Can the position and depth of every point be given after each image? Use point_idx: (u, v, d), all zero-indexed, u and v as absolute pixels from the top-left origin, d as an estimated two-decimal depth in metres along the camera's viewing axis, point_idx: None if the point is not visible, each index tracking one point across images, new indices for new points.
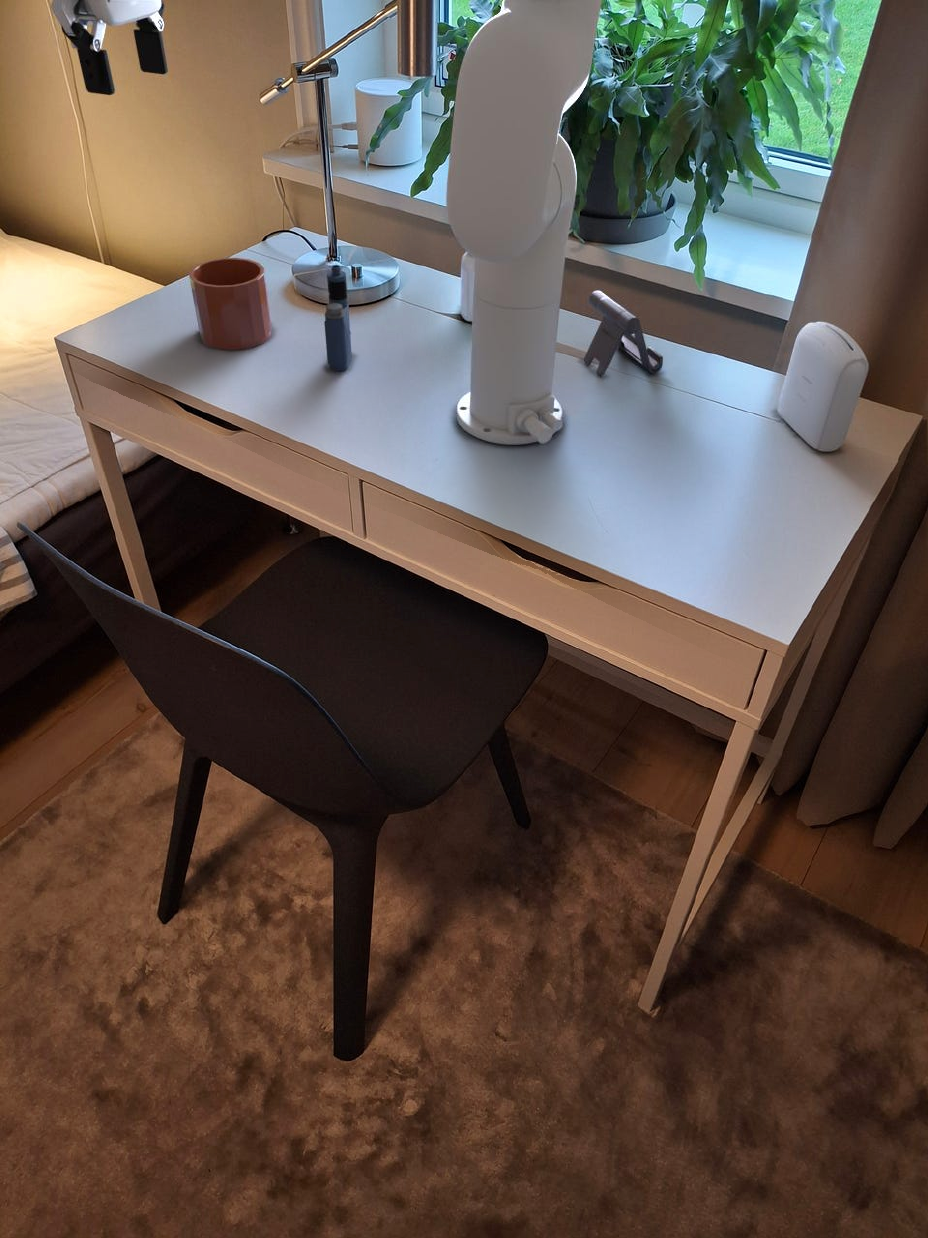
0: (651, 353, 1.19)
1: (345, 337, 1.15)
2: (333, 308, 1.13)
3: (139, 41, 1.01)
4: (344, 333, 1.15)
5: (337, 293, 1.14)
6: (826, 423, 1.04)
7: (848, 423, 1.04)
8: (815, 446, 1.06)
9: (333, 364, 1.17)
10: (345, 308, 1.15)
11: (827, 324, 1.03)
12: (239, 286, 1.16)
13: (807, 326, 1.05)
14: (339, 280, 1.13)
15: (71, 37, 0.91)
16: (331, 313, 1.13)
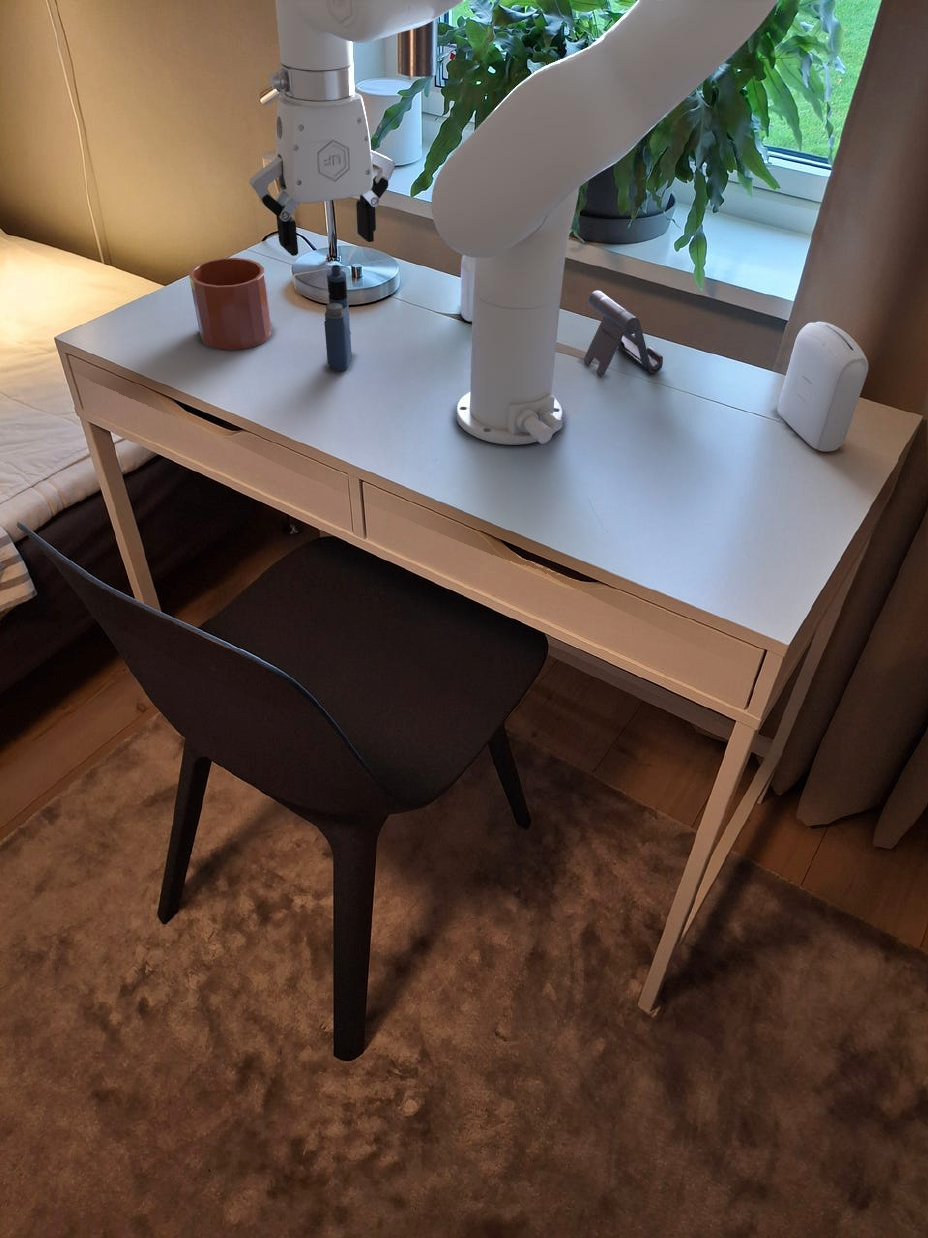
0: (651, 353, 1.19)
1: (345, 337, 1.15)
2: (333, 308, 1.13)
3: (358, 210, 1.10)
4: (344, 333, 1.15)
5: (337, 293, 1.14)
6: (826, 423, 1.04)
7: (848, 423, 1.04)
8: (815, 446, 1.06)
9: (333, 364, 1.17)
10: (345, 308, 1.15)
11: (827, 324, 1.03)
12: (239, 286, 1.16)
13: (807, 326, 1.05)
14: (339, 280, 1.13)
15: None
16: (331, 313, 1.13)
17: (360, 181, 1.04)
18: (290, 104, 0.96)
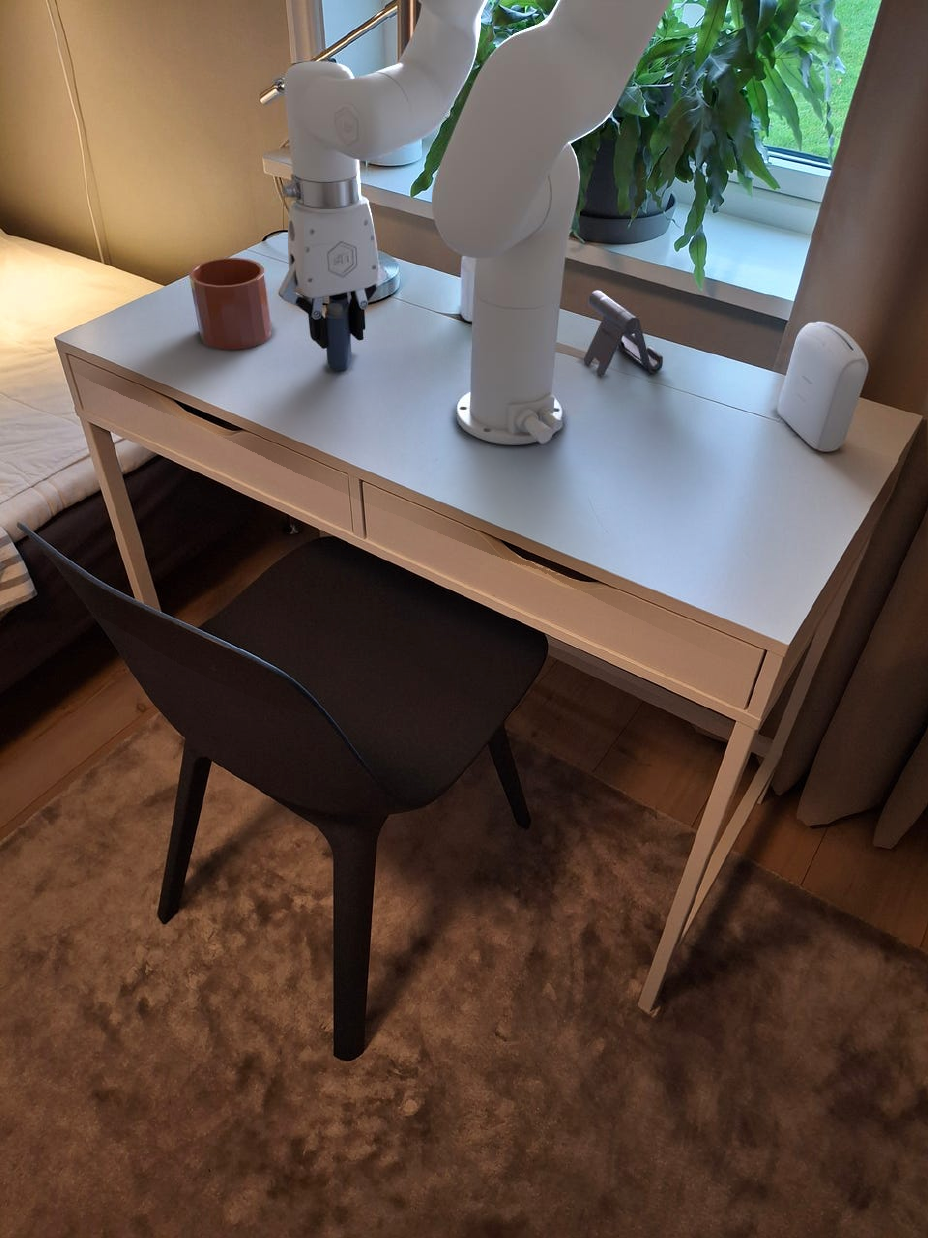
0: (651, 353, 1.19)
1: (345, 337, 1.15)
2: (333, 308, 1.13)
3: None
4: (344, 333, 1.15)
5: None
6: (826, 423, 1.04)
7: (848, 423, 1.04)
8: (815, 446, 1.06)
9: (333, 364, 1.17)
10: (345, 308, 1.15)
11: (827, 324, 1.03)
12: (239, 286, 1.16)
13: (807, 326, 1.05)
14: None
15: None
16: (331, 313, 1.13)
17: (367, 275, 1.11)
18: (301, 211, 1.04)
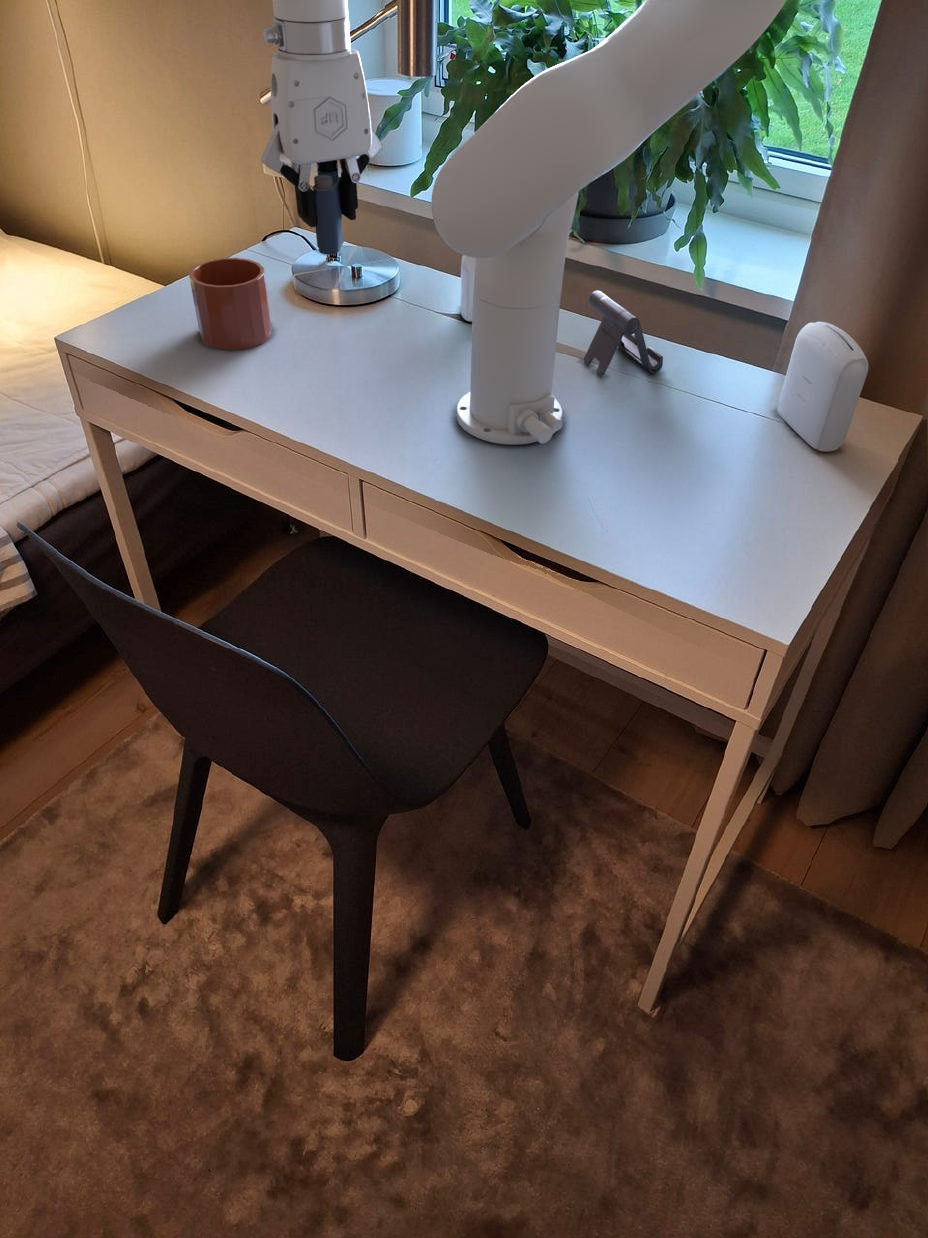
0: (651, 353, 1.19)
1: (336, 214, 1.05)
2: (322, 179, 1.03)
3: None
4: (334, 209, 1.05)
5: (326, 164, 1.04)
6: (826, 423, 1.04)
7: (848, 423, 1.04)
8: (815, 446, 1.06)
9: (323, 246, 1.07)
10: (335, 182, 1.05)
11: (827, 324, 1.03)
12: (239, 286, 1.16)
13: (807, 326, 1.05)
14: None
15: None
16: (320, 185, 1.03)
17: (358, 140, 1.01)
18: (284, 59, 0.94)
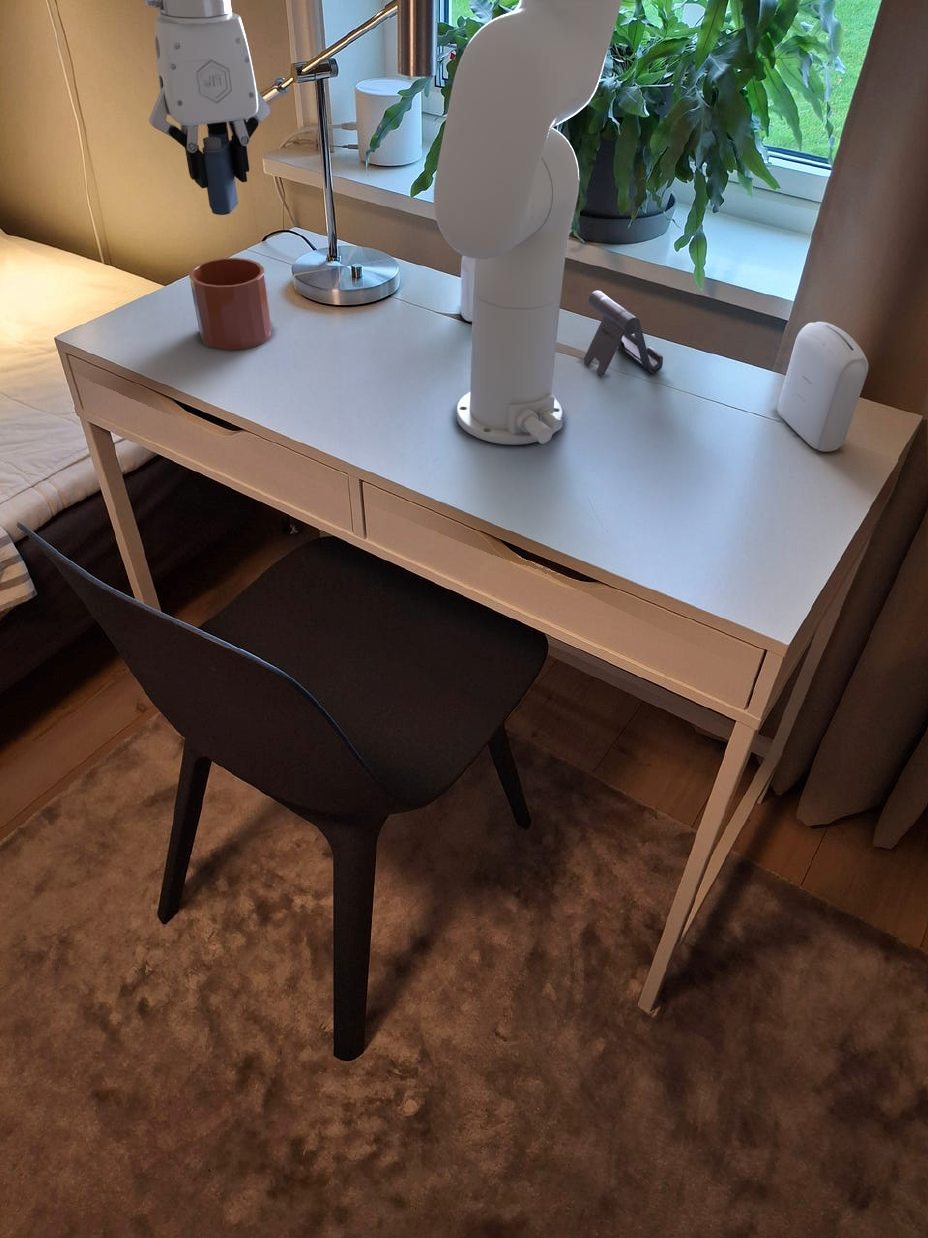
0: (651, 353, 1.19)
1: (226, 175, 1.09)
2: (210, 140, 1.06)
3: None
4: (224, 170, 1.09)
5: (215, 126, 1.07)
6: (826, 423, 1.04)
7: (848, 423, 1.04)
8: (815, 446, 1.06)
9: (214, 206, 1.11)
10: (225, 144, 1.09)
11: (827, 324, 1.03)
12: (239, 286, 1.16)
13: (807, 326, 1.05)
14: None
15: None
16: (208, 146, 1.07)
17: (244, 104, 1.05)
18: (165, 22, 0.97)
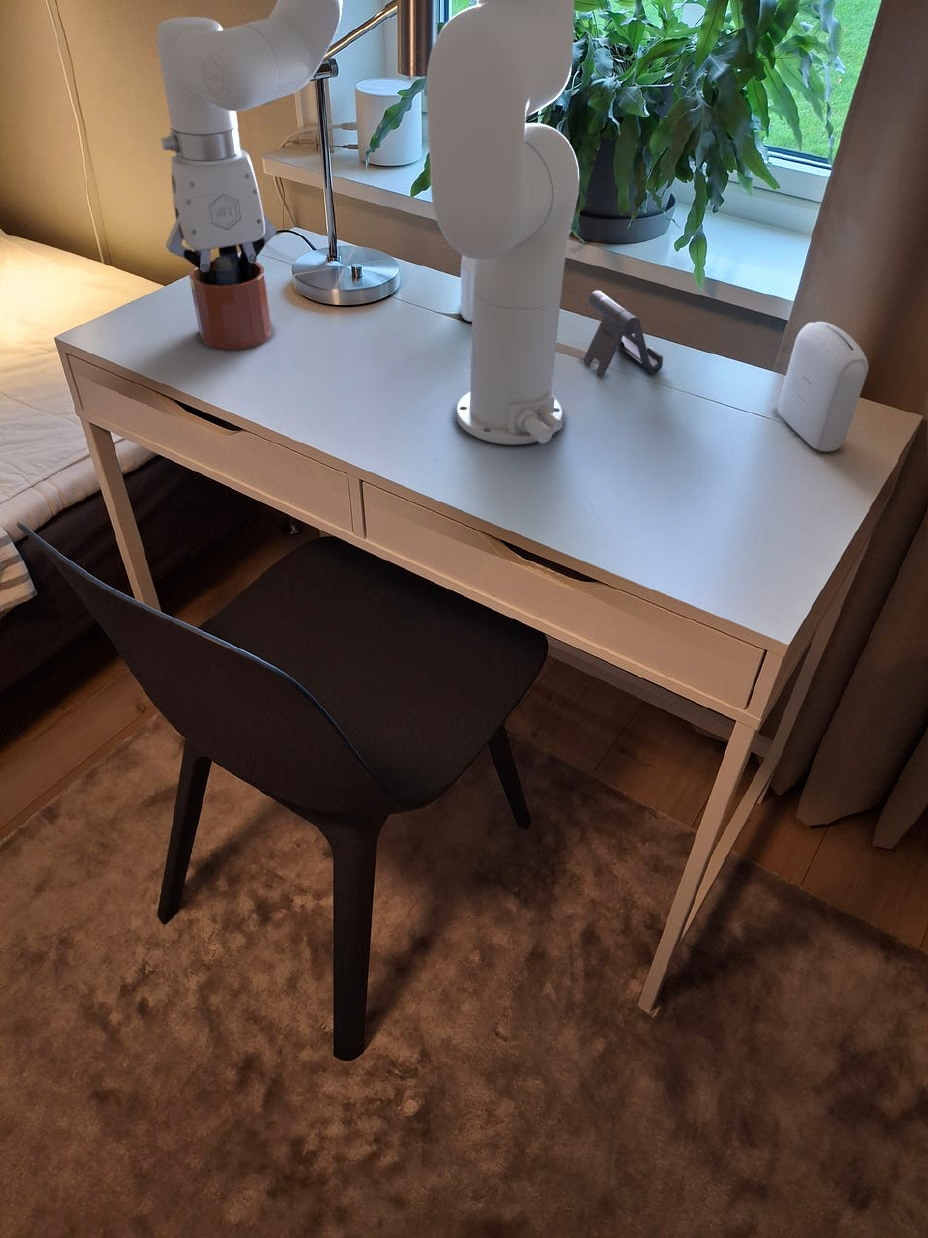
0: (651, 353, 1.19)
1: None
2: (221, 261, 1.16)
3: None
4: None
5: (226, 247, 1.17)
6: (826, 423, 1.04)
7: (848, 423, 1.04)
8: (815, 446, 1.06)
9: None
10: (235, 262, 1.19)
11: (827, 324, 1.03)
12: (239, 286, 1.16)
13: (807, 326, 1.05)
14: None
15: None
16: (219, 266, 1.17)
17: (252, 229, 1.15)
18: (181, 164, 1.07)
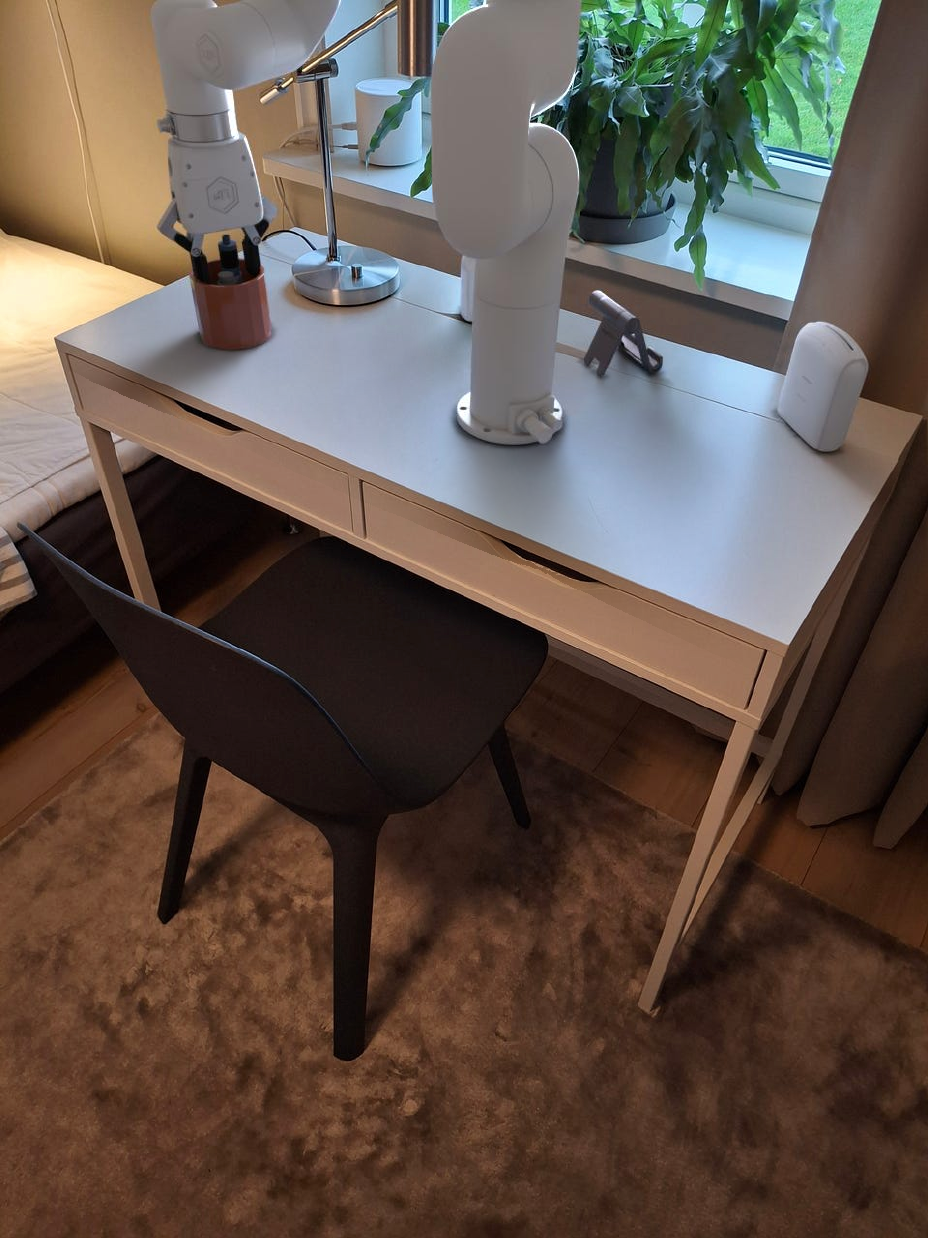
0: (651, 353, 1.19)
1: None
2: (224, 276, 1.18)
3: (243, 248, 1.19)
4: None
5: (228, 262, 1.18)
6: (826, 423, 1.04)
7: (848, 423, 1.04)
8: (815, 446, 1.06)
9: None
10: (237, 276, 1.20)
11: (827, 324, 1.03)
12: (239, 286, 1.16)
13: (807, 326, 1.05)
14: (229, 249, 1.17)
15: None
16: (223, 281, 1.18)
17: (250, 213, 1.13)
18: (177, 146, 1.06)
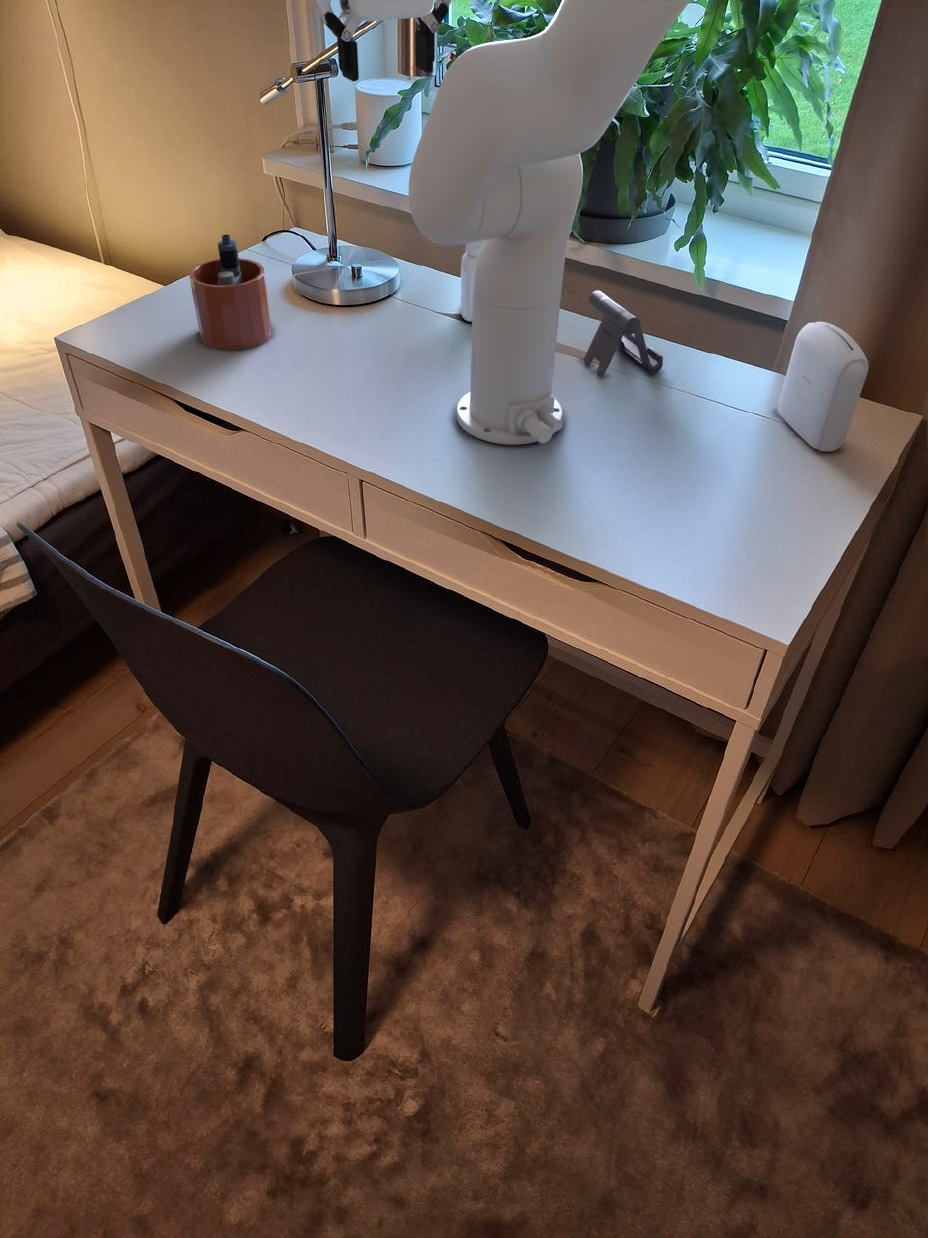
0: (651, 353, 1.19)
1: None
2: (224, 276, 1.18)
3: (417, 39, 1.09)
4: None
5: (228, 262, 1.18)
6: (826, 423, 1.04)
7: (848, 423, 1.04)
8: (815, 446, 1.06)
9: None
10: (237, 276, 1.20)
11: (827, 324, 1.03)
12: (239, 286, 1.16)
13: (807, 326, 1.05)
14: (229, 249, 1.17)
15: (328, 25, 1.03)
16: (223, 281, 1.18)
17: (422, 0, 1.03)
18: None
